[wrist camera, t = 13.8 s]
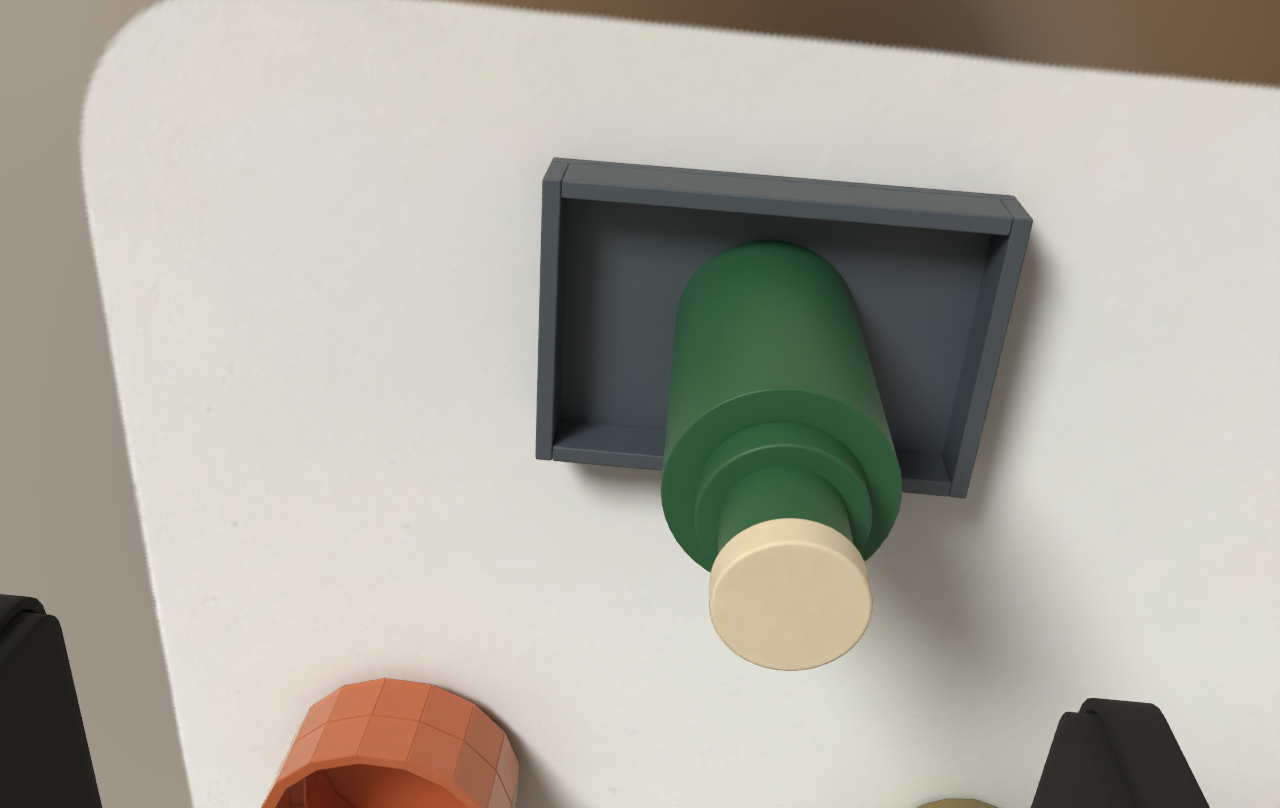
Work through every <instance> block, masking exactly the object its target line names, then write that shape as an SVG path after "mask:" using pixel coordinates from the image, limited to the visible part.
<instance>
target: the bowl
mask: <svg viewBox="0 0 1280 808" xmlns="http://www.w3.org/2000/svg"><path fill="white" fill-rule="evenodd" d="M519 769H520V766H519V762H518V760H517V758H516V756H515V753H514V751H513V749H512V747H511V744H510V742H509V740H508V738H507V735H506V733H505V732H504V731H503V730H502V729H501V728H500V727H499V726H498V725H497V724H495V723H494V722H493V721H492V720H491V719H490V718H489V717H488V716H487V715H486V714H485V713H484V712H483V711H482V710H481V709H479V708H478V707H477V706H476V705H474V703H472V702H470V701H468V700H466V699H463V698H461V697H459V696H457V695H455V694H453V693H450V692H448V691H446V690H444V689H442V688H439V687H437V686H435V685H431V684H425V683H418V682H410V681H403V680H396V679H386V678H382V679H377V680H371V681H366V682H360V683H355V684H349V685H344V686H343V687H341V688H339V689H338V690H336V691H335V692H333V693H331V694H330V695H328V696H327V697H325V698H324V699H322V700H320V701H319V702H317V703H316V704H314V705H313V706H312V707H310V709H309V711H308V712H307V714H306V716H305V718H304V719H303V721H302V723H301V725H300V727H299V728H298V730H297V732H296V734H295V736H294V738H293V740H292V742H291V744H290V746H289V749H288V751H287V753H286V755H285V757H284V759H283V761H282V764H281V766H280V768H279V770H278V772H277V774H276V776H275V779H274V781H273V783H272V785H271V787H270V789H269V791H268V794H267V796H266V798H265V800H264V802H263V804H262V806H261V808H515V804H516V799H517V791H518V780H519Z"/></svg>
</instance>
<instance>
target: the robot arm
mask: <svg viewBox="0 0 1280 808" xmlns="http://www.w3.org/2000/svg"><path fill="white" fill-rule="evenodd" d="M0 808H102V805H101V800H100V796H99V792H98V787H97V783H96V778H95V774H94V770H93V765H92V761H91V756H90V752H89V748H88V743H87V739H86V734H85V730H84V726H83V721H82V717H81V712H80V708H79V704H78V699H77V695H76V691H75V686H74V682H73V677H72V673H71V668H70V664H69V660H68V655H67V651H66V646H65V642H64V638H63V633H62V629H61V626H60V623H59V620H57V618H56V617H55V616H52V615H47V614H46V612H45V610H44V607H43V605H42V604H41V603H40V602H39V601H38V600H37V599H36V598H32V597H25V596H14V595H4V594H0ZM1031 808H1210V807H1209V805H1208V803H1207V801H1206V799H1205V797H1204V795H1203V793H1202V791H1201V789H1200V787H1199V785H1198V783H1197V781H1196V779H1195V777H1194V775H1193V773H1192V771H1191V769H1190V767H1189V765H1188V763H1187V761H1186V759H1185V757H1184V755H1183V753H1182V751H1181V749H1180V747H1179V745H1178V743H1177V741H1176V739H1175V737H1174V735H1173V733H1172V731H1171V729H1170V727H1169V725H1168V723H1167V721H1166V719H1165V717H1164V715H1163V714H1162V712H1161V711H1160V709H1159V708H1158V707H1157V706H1155V705H1154V704H1151V703H1141V702H1130V701H1120V700H1109V699H1099V698H1089V699H1087V700H1086V701H1085V702H1084V703H1083V704H1082V706H1081V708H1080V710H1079V712H1078V713H1075V712H1065V713H1064V714H1063V715H1062V717H1061V719H1060V721H1059V724H1058V727H1057V730H1056V733H1055V736H1054V739H1053V742H1052V745H1051V748H1050V751H1049V754H1048V757H1047V760H1046V763H1045V766H1044V770H1043V773H1042V776H1041V779H1040V782H1039V785H1038V788H1037V791H1036V794H1035V797H1034V800H1033V803H1032V806H1031Z"/></svg>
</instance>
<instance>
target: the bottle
mask: <svg viewBox="0 0 1280 808" xmlns="http://www.w3.org/2000/svg"><path fill="white" fill-rule="evenodd" d="M661 498H662V507H663V511H664V515H665V518H666V521H667V523H668V526H669V528H670V530H671V532H672V534H673V536H674V537H675V539H676V541H677V542H678V543H679V545H680V546H681V547H682V548H683V550H684V551H685V552H686V553H687V554H688V555H689V556H690V557H691V558H692V559H693V560H694V561H695V562H696V563H698V564H699V565H700V566H702V567H703V568H704V569H706V570H707V571H709V572H711V574H710V585H709V609H710V616H711V621H712V623H713V626H714V628H715V630H716V632H717V634H718V635H719V637H720V638H721V639H722V641H723V642H724V643H725V644H726V646H728V647H729V648H730V649H731V650H732V651H733V652H734V653H736V654H737V655H738V656H740V657H741V658H743V659H745V660H747V661H749V662H751V663H753V664H756V665H759V666H762V667H765V668H770V669H775V670H785V671H796V670H805V669H811V668H815V667H819V666H822V665H825V664H827V663H829V662H832V661H834V660H836V659H837V658H839V657H841V656H842V655H844V654H845V653H847V652H848V651H849V650H850V649H851V648H852V647H853V646H854V645H855V644H856V643H857V642H858V641H859V640H860V638H861V637H862V636H863V634H864V632H865V630H866V629H867V627H868V624H869V622H870V619H871V614H872V608H873V599H872V592H871V587H870V582H869V577H868V572H867V568H866V565H865V561H866V560H867V559H868V558H870V557H871V556H872V555H873V553H874V552H875V551H876V550H877V549H878V548H879V547H880V546H881V544H882V543H883V542H884V540H885V539H886V537H887V536H888V534H889V532H890V531H891V529H892V527H893V525H894V523H895V520H896V517H897V515H898V512H899V508H900V503H901V498H902V479H901V471H900V467H899V463H898V460H897V456H896V452H895V449H894V445H893V442H892V438H891V434H890V431H889V427H888V424H887V420H886V416H885V413H884V409H883V406H882V402H881V398H880V395H879V391H878V388H877V384H876V380H875V377H874V373H873V370H872V366H871V362H870V359H869V355H868V352H867V348H866V344H865V341H864V337H863V334H862V330H861V327H860V323H859V319H858V316H857V312H856V309H855V305H854V301H853V298H852V294H851V292H850V290H849V288H848V286H847V284H846V282H845V281H844V279H843V277H842V276H841V275H840V273H839V272H838V271H837V270H836V269H835V267H834V266H833V265H831V264H830V263H829V262H828V261H827V260H826V259H824V258H823V257H821V256H820V255H818V254H817V253H815V252H813V251H811V250H809V249H807V248H805V247H803V246H800V245H797V244H794V243H789V242H784V241H775V240H761V241H752V242H747V243H743V244H740V245H736V246H733V247H731V248H729V249H726V250H724V251H722V252H720V253H719V254H717V255H716V256H714V257H712V258H711V259H710V260H709V261H707V262H706V263H705V264H704V265H702V267H701V268H700V269H699V270H698V271H697V272H696V273H695V274H694V275H693V277H692V278H691V279H690V281H689V282H688V284H687V286H686V288H685V289H684V291H683V293H682V296H681V299H680V301H679V305H678V310H677V315H676V326H675V338H674V349H673V360H672V371H671V382H670V393H669V405H668V416H667V427H666V438H665V449H664V460H663V471H662V484H661Z"/></svg>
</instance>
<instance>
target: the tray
mask: <svg viewBox="0 0 1280 808" xmlns="http://www.w3.org/2000/svg"><path fill="white" fill-rule="evenodd" d="M1032 223H1033V219H1032V218H1031V217H1030V215H1029V214H1028V213H1027V212H1026V210H1025V209H1024V208H1023V206H1022V205H1021V204H1020V203H1019V201H1017V199H1016V198H1015V196H1009V195H997V194H985V193H973V192H961V191H949V190H937V189H925V188H913V187H901V186H889V185H877V184H865V183H853V182H841V181H829V180H817V179H806V178H794V177H782V176H770V175H758V174H746V173H734V172H722V171H710V170H698V169H686V168H674V167H662V166H650V165H638V164H626V163H614V162H602V161H590V160H578V159H566V158H553V160H552V162H551V164H550V166H549V168H548V170H547V172H546V174H545V176H544V178H543V183H542V222H541V261H540V300H539V339H538V378H537V417H536V456H535V457H536V459H540V460H552V459H553V461H562V462H573V463H584V464H595V465H606V466H617V467H628V468H639V469H650V470H661V471H663V460H664V449H665V438H666V427H667V416H668V405H669V393H670V382H671V371H672V360H673V349H674V338H675V326H676V315H677V310H678V305H679V301H680V299H681V296H682V293H683V291H684V289H685V288H686V286H687V284H688V282H689V281H690V279H691V278H692V277H693V275H694V274H695V273H696V272H697V271H698V270H699V269H700V268H701V267H702V265H704V264H705V263H706V262H707V261H709V260H710V259H711V258H712V257H714V256H716V255H717V254H719V253H720V252H722V251H724V250H726V249H729V248H731V247H733V246H736V245H740V244H743V243H747V242H752V241H761V240H775V241H784V242H789V243H794V244H797V245H800V246H803V247H805V248H807V249H809V250H811V251H813V252H815V253H817V254H818V255H820V256H821V257H823V258H824V259H826V260H827V261H828V262H829V263H830V264H831V265H833V266H834V267H835V269H836V270H837V271H838V272H839V273H840V275H841V276H842V277H843V279H844V281H845V282H846V284H847V286H848V288H849V290H850V292H851V294H852V298H853V301H854V305H855V309H856V312H857V316H858V319H859V323H860V327H861V330H862V334H863V337H864V341H865V344H866V348H867V352H868V355H869V359H870V362H871V366H872V370H873V373H874V377H875V380H876V384H877V388H878V391H879V395H880V398H881V402H882V406H883V409H884V413H885V416H886V420H887V424H888V427H889V431H890V434H891V438H892V442H893V445H894V449H895V452H896V456H897V460H898V463H899V467H900V471H901V479H902V492H904V493H915V494H926V495H937V496H948V495H949V496H950V497H957V498H966V495H967V491H968V487H969V483H970V479H971V474H972V470H973V466H974V462H975V458H976V454H977V450H978V446H979V441H980V437H981V433H982V429H983V425H984V421H985V417H986V413H987V408H988V404H989V400H990V396H991V392H992V388H993V384H994V380H995V376H996V371H997V367H998V363H999V359H1000V355H1001V351H1002V347H1003V343H1004V338H1005V334H1006V330H1007V326H1008V322H1009V318H1010V314H1011V310H1012V305H1013V301H1014V297H1015V293H1016V289H1017V285H1018V281H1019V277H1020V272H1021V268H1022V264H1023V260H1024V256H1025V252H1026V248H1027V244H1028V240H1029V235H1030V231H1031V227H1032Z"/></svg>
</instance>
